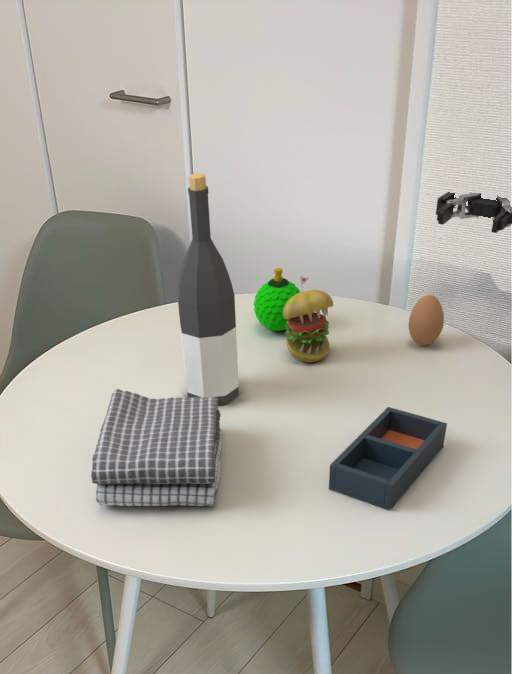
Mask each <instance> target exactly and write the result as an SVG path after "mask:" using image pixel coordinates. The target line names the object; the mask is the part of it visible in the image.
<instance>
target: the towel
mask: <svg viewBox="0 0 512 674" xmlns="http://www.w3.org/2000/svg"><path fill="white" fill-rule="evenodd" d="M218 408H219V406H218V398H216V397H211V398H209V397H202V398H200V397H193V398H191V397H188V396H187V397H168V398H164V397H163V398H162V397H161V398H158V399H157V398H149V397H147V396H144V395H140V394H139V393H136V392H131V391H128V390H125V391H124V390H122V389H121V388H117V389H114V390H113V392H112V393H111V396H110V401H109V404H108V407H107V411H106V415H105V417H104V420H103V422H102V425H101V428H100V434H99V438H98V440H97V444H96V446H95V450H94V454H92V457H91V458H92V467H91V468H92V470H91V473H90V474H91V475H90V478H91V482H92V484H97V485H96V490H95V496H96V497H95V501H96V502H97V503H98V505H101V506H102V505H105V506H119V507H124V506H127V507H132V506H135V507H142V506H143V507H149V506H153V507H159V506H162V507H167V506H184V507H186V506H192V507H193V506H194V507H195V506H197V507H204V506H209V507H213V506H215V505H216V499H215V497H216V491H217V488H218V484H219V481H220V475H221V460H220V456H221V451H222V436H223V429H221V427H220V426H221V422H220V421H221V412H220V409H218Z"/></svg>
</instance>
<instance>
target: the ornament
mask: <svg viewBox="0 0 512 674" xmlns="http://www.w3.org/2000/svg"><path fill="white" fill-rule="evenodd" d="M283 272H284V270H283V268H281V267H276V268H274V270H273V273H274V278H271V279H269V281H267V282H265V283H263V284H261V287H260V288H259V289H258V290H257V293H255V295H254V301H253V306H254V308H253V312H254V314H255V318H256V319H257V320H258V323H260V324H261V325H262V326H263V327H265V328H266V329H267V330H271V331H275V332H281V331H287V330H286V328H285V324H286V322H287V321H289V319H285V318H284V316H283V309H284V305H285V304H286V302H287V301H288V300H289V299H290V298H291V297H293V296H294V295H296V294H298V293H300V292H301V291H300V289H299V287H297V286H296V284H295V283H294V282H291V281H289V280H288V278H285V277H283V276H282V274H283Z"/></svg>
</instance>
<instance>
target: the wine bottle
mask: <svg viewBox="0 0 512 674" xmlns="http://www.w3.org/2000/svg"><path fill="white" fill-rule="evenodd" d="M206 180H207V179H206V174H205V173H201V172H198V173H192V174H189V175H188V182H189V187H187V193H188V197H189V211H190V222H191V223H190V224H191V236H192V238H191V241H190V244H189V247H188V249H187V251H186V253H185V256H184V258H183V261H182V262H181V267H180V271H179V275H178V281H177V289H176V296H177V303H178V304H177V306H178V316H179V326H180V336H181V349H182V357H183V358H182V359H183V368H184V377H185V378H184V379H185V387H186V393H187V394H186V395H187V397H191V398H193V397H200V398H202V397H209V398H211V397H216V398H218V407H219V406H226V405H227V404H229V403H230V402H232V401H233V400H235V399H237V398H238V397H239V393H240V386H239V385H240V384H239V363H238V362H239V361H238V343H237V339H238V338H237V320H236V319H237V318H236V298H235V297H236V295H235V292H234V287H233V284H232V280H231V277H230V274H229V271H228V269H227V266H226V264H225V261H224V258H223V256H222V255H221V254H220V252H219V250H218V248H217V246H216V245H215V244H214V243H215V242H214V241H213V240H212V238H211V235H212V234H211V222H210V207H209V206H210V205H209V186H208V185H207V181H206Z"/></svg>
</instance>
